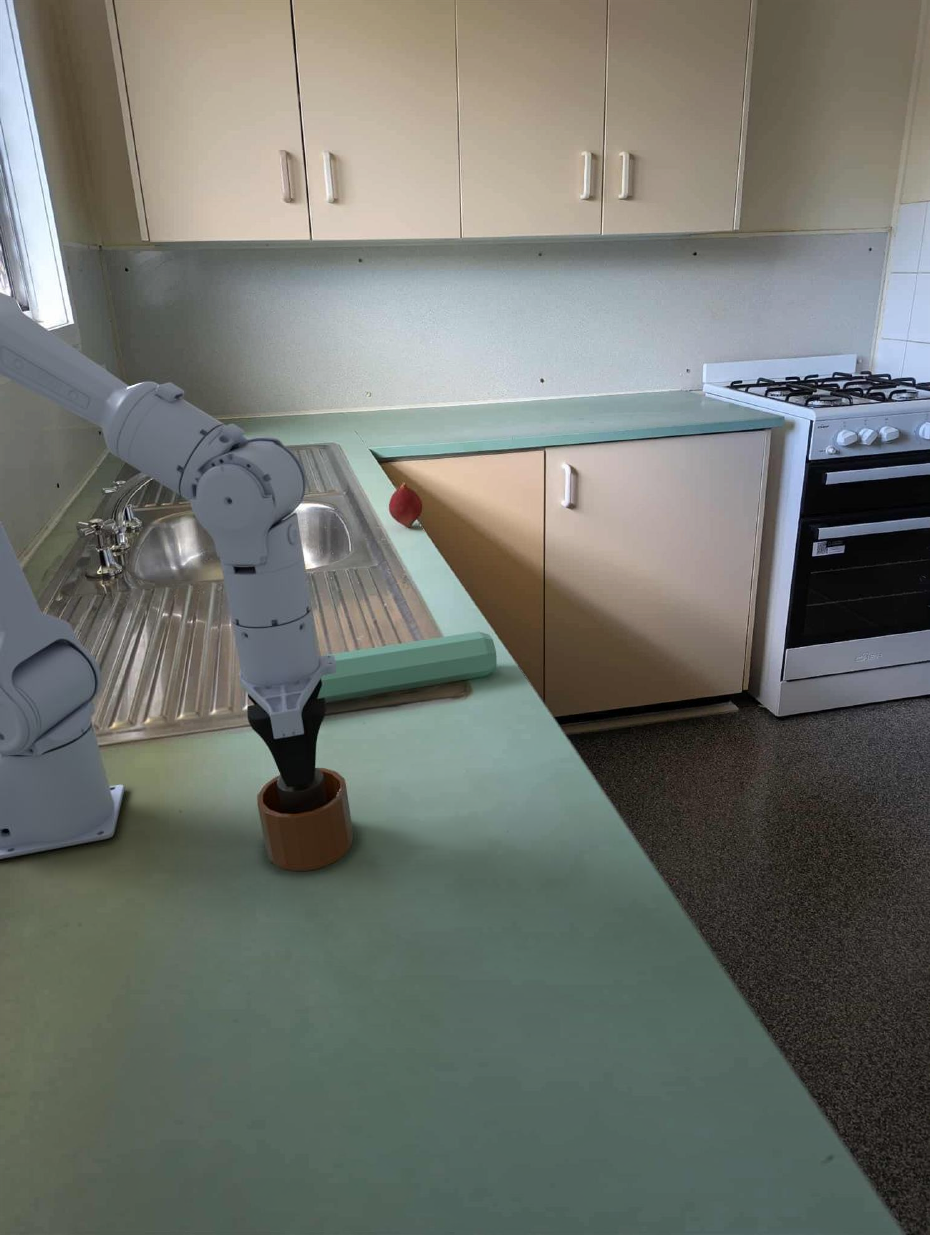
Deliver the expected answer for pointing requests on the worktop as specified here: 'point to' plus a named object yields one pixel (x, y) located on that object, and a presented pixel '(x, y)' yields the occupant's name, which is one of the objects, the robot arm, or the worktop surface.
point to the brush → (303, 795)
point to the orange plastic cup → (306, 827)
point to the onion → (405, 505)
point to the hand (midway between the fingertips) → (299, 774)
